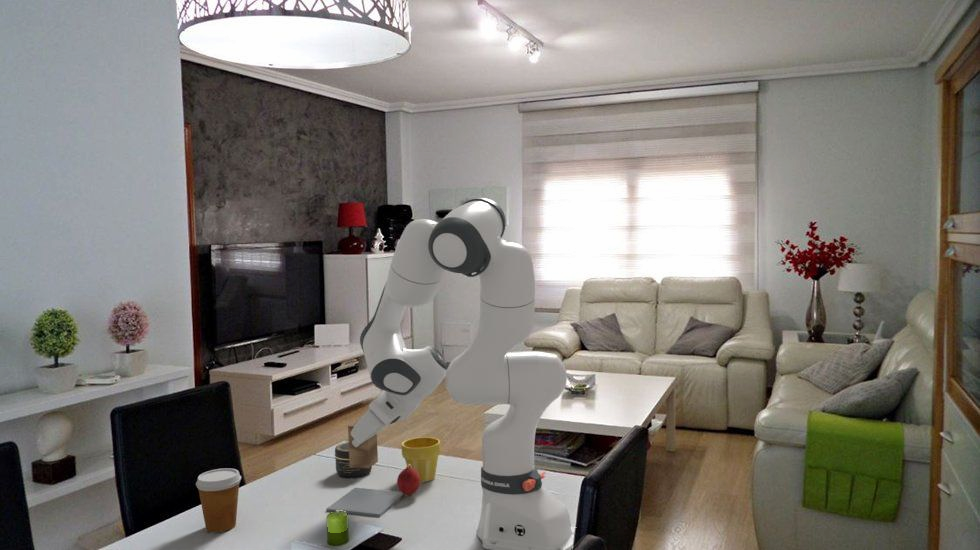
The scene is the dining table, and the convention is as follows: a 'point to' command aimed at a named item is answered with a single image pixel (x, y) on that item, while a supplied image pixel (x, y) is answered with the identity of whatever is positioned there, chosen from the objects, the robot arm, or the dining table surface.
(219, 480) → the disposable coffee cup
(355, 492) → the slate coaster
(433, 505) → the dining table surface
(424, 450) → the plant pot
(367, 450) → the walnut block
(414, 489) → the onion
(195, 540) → the dining table surface
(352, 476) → the jar
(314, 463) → the dining table surface
